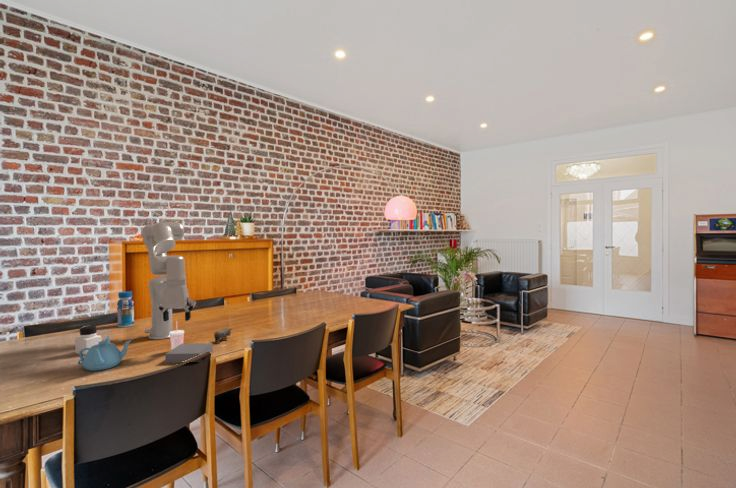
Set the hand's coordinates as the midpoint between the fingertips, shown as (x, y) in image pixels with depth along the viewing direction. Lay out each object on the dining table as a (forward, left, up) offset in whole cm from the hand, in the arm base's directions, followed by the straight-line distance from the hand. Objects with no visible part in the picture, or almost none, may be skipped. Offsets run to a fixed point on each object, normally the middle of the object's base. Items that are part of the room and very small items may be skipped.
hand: (177, 320), depth 167 cm
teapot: (-20, -17, -15) cm, 31 cm away
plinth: (+10, -8, -14) cm, 19 cm away
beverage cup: (0, +1, -15) cm, 15 cm away
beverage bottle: (-54, +50, -15) cm, 75 cm away
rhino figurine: (+15, +17, -15) cm, 27 cm away
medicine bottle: (-40, +1, -15) cm, 43 cm away
